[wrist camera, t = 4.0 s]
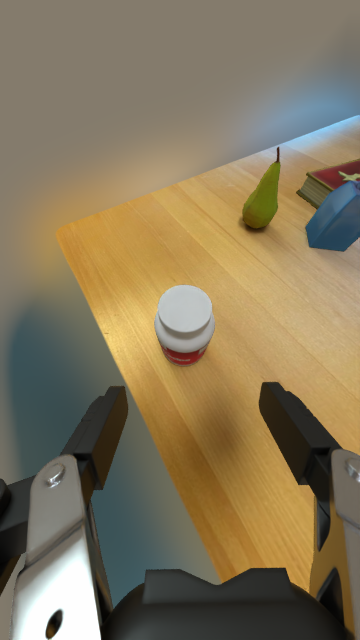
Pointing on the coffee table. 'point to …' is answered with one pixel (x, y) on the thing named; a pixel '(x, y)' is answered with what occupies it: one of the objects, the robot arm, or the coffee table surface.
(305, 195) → the hardcover book
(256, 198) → the fruit
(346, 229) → the perfume bottle
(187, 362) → the pill bottle
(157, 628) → the robot arm
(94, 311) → the coffee table surface
